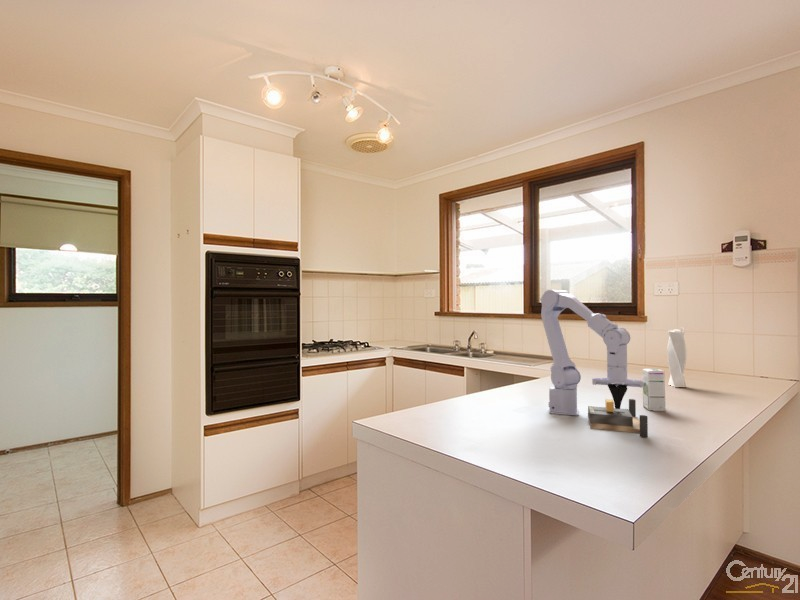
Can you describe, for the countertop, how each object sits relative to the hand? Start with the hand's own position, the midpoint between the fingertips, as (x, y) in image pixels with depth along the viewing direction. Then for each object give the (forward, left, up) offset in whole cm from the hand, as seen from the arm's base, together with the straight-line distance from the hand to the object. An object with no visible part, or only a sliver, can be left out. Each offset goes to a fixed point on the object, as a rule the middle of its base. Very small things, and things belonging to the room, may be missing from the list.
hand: (617, 408), depth 134 cm
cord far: (+6, +11, -5) cm, 13 cm away
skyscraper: (+33, +76, -5) cm, 83 cm away
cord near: (+6, -11, -5) cm, 13 cm away
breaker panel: (-1, 0, -5) cm, 5 cm away
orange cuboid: (-2, 0, -1) cm, 2 cm away
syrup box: (+15, +26, -5) cm, 30 cm away
